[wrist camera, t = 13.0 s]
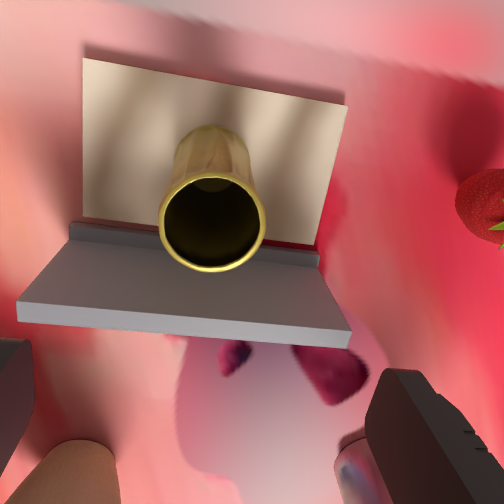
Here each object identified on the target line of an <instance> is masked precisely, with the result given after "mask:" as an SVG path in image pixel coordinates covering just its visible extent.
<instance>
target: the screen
mask: <svg viewBox="0 0 504 504" xmlns="http://www.w3.org/2000/svg"><path fill="white" fill-rule="evenodd" d="M319 260H320V254H319V252H318V251H310V250H302V249H294V248H286V247H278V246H269V245H261V244H260V246H259V248H258V249H257V251H256V252H255V253H254V255H253V256H252V257H251V258H250V259H248V260H247V261H246V262H244V263H243V264H241V265H239V266H238V267H236V268H234V269H230V270H227V271H224V272H200V271H196V270H194V269H191V268H189V267H187V266H185V265H183V264H181V263H180V262H178V261H177V260H175V259H174V258H173V257H172V256H171V255H170V254H169V252H168V251H167V250H166V248H165V247H164V245H163V243H162V241H161V239H160V234H159V232H154V231H146V230H138V229H129V228H121V227H113V226H105V225H96V224H88V223H80V222H72V223H71V224H70V225H69V240H68V242H67V243H66V244H65V245H64V246H63V247H62V249H61V250H60V251H59V252H58V253H57V254H56V255H55V257H54V258H53V259H52V260H51V261H50V262H49V264H48V265H47V266H46V267H45V268H44V269H43V270H42V272H41V273H40V274H39V275H38V276H37V277H36V279H35V280H34V281H33V282H32V283H31V284H30V286H29V287H28V288H27V289H26V290H25V291H24V292H23V294H22V295H21V296H20V297H19V298H18V299H17V301H16V308H17V321H18V322H29V323H41V324H53V325H66V326H78V327H90V328H102V329H114V330H126V331H138V332H150V333H162V334H174V335H187V336H199V337H211V338H223V339H235V340H247V341H259V342H271V343H283V344H295V345H308V346H320V347H332V348H344V349H347V346H348V343H349V340H350V337H351V334H352V330H351V328H350V326H349V324H348V323H347V321H346V319H345V317H344V315H343V314H342V312H341V310H340V308H339V306H338V304H337V303H336V301H335V299H334V297H333V295H332V293H331V292H330V290H329V288H328V286H327V284H326V283H325V281H324V279H323V277H322V275H321V273H320V272H319V270H318V264H319Z"/></svg>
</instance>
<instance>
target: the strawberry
mask: <svg viewBox="0 0 504 504" xmlns="http://www.w3.org/2000/svg"><path fill="white" fill-rule="evenodd" d="M455 207H456V211H457V213H458V215H459V217H460V218H461V220H462V221H463V223H464V224H465V226H466V227H467V228H468V229H469V230H470V231H471V232H472V233H473V234H475V235H476V236H477V237H479V238H482V239H484V240H487V241H489V242H492V243H496V244H500V245H501V246H500V248H499V249H501V248H503V247H504V169H487V170H483V171H480V172H478V173H476V174H473V175H472V176H470V177H469V178H467V179H466V180H464V181H463V182H462V183H461V185H460V186H459V188H458V190H457V194H456V199H455Z"/></svg>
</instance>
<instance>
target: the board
mask: <svg viewBox="0 0 504 504" xmlns="http://www.w3.org/2000/svg"><path fill="white" fill-rule="evenodd" d="M347 110H348V106H345V105H340V104H334V103H329V102H323V101H318V100H312V99H307V98H301V97H296V96H290V95H285V94H279V93H274V92H268V91H263V90H258V89H252V88H247V87H241V86H236V85H230V84H225V83H219V82H214V81H208V80H203V79H197V78H192V77H187V76H181V75H176V74H170V73H165V72H159V71H154V70H148V69H143V68H137V67H132V66H126V65H121V64H115V63H110V62H105V61H99V60H94V59H88V58H83V217H90V218H98V219H106V220H114V221H123V222H131V223H139V224H147V225H155V226H158V209H159V205H160V203H161V200H162V198H163V196H164V193H165V191H166V189H167V186H168V184H169V181H170V179H171V176H172V171H173V166H174V156H175V152H176V149H177V147H178V145H179V143H180V141H181V140H182V139H183V138H184V137H185V136H186V135H187V134H188V133H189V132H191V131H192V130H194V129H196V128H199V127H202V126H207V125H216V126H221V127H224V128H227V129H229V130H231V131H232V132H234V133H235V134H237V135H238V136H239V137H240V138H241V140H242V141H243V142H244V144H245V145H246V147H247V150H248V152H249V156H250V166H251V171H252V176H253V179H254V183H255V187H256V190H257V192H258V194H259V196H260V199H261V202H262V204H263V206H264V209H265V215H266V232H265V235H264V238H263V239H268V240H276V241H284V242H292V243H300V244H308V245H314V241H315V237H316V233H317V229H318V225H319V221H320V217H321V213H322V209H323V205H324V201H325V197H326V193H327V189H328V185H329V181H330V177H331V174H332V170H333V166H334V162H335V158H336V154H337V150H338V146H339V142H340V138H341V134H342V130H343V126H344V122H345V118H346V114H347Z"/></svg>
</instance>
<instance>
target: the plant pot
mask: <svg viewBox="0 0 504 504" xmlns="http://www.w3.org/2000/svg"><path fill="white" fill-rule="evenodd" d="M4 504H121V498H120V489H119V482H118V476H117V470H116V464H115V460H114V457H113V455H112V453H111V452H110V451H109V450H108V449H107V448H106V447H104V446H103V445H101V444H99V443H96V442H93V441H89V440H70V441H66V442H64V443H61V444H59V445H57V446H56V447H55V448H54V449H52V450H51V451H50V452H49V453H48V454H47V456H46V457H45V458H44V459H43V460H42V461H41V462H40V463H39V464H38V465H37V466H36V467H35V468H34V469H33V470H32V471H31V473H30V474H29V475H28V476H27V477H26V478H25V479H24V481H23V482H22V483H21V484H20V485H19V486H18V488H17V489H16V490H15V491H14V492H13V494H12V495H11V496H10V497H9V499H8V500H7V501H6V502H5V503H4Z"/></svg>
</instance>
